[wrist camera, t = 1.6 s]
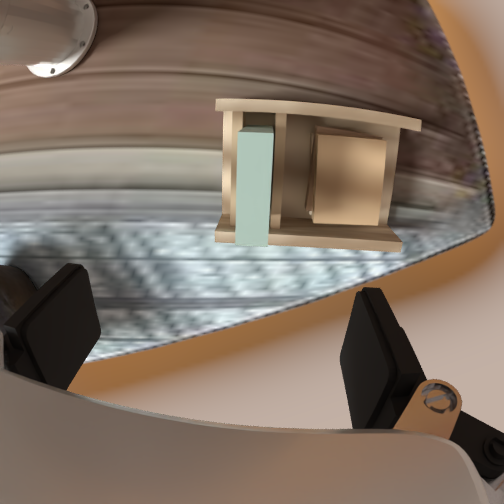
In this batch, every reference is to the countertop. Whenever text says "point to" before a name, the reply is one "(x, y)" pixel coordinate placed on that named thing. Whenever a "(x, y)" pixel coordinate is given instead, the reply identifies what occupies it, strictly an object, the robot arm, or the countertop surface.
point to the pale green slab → (253, 185)
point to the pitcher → (13, 292)
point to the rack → (306, 171)
